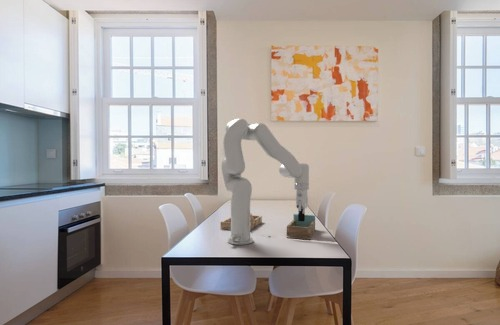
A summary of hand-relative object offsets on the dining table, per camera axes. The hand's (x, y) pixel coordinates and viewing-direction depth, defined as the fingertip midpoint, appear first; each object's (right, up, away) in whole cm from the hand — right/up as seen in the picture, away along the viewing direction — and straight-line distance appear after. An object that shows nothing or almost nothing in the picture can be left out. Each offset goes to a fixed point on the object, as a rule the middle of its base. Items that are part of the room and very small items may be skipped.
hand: (301, 220), depth 162 cm
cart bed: (0, -8, 0) cm, 8 cm away
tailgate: (+3, -6, +9) cm, 11 cm away
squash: (-32, -8, +24) cm, 41 cm away
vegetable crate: (-32, -7, +23) cm, 40 cm away
